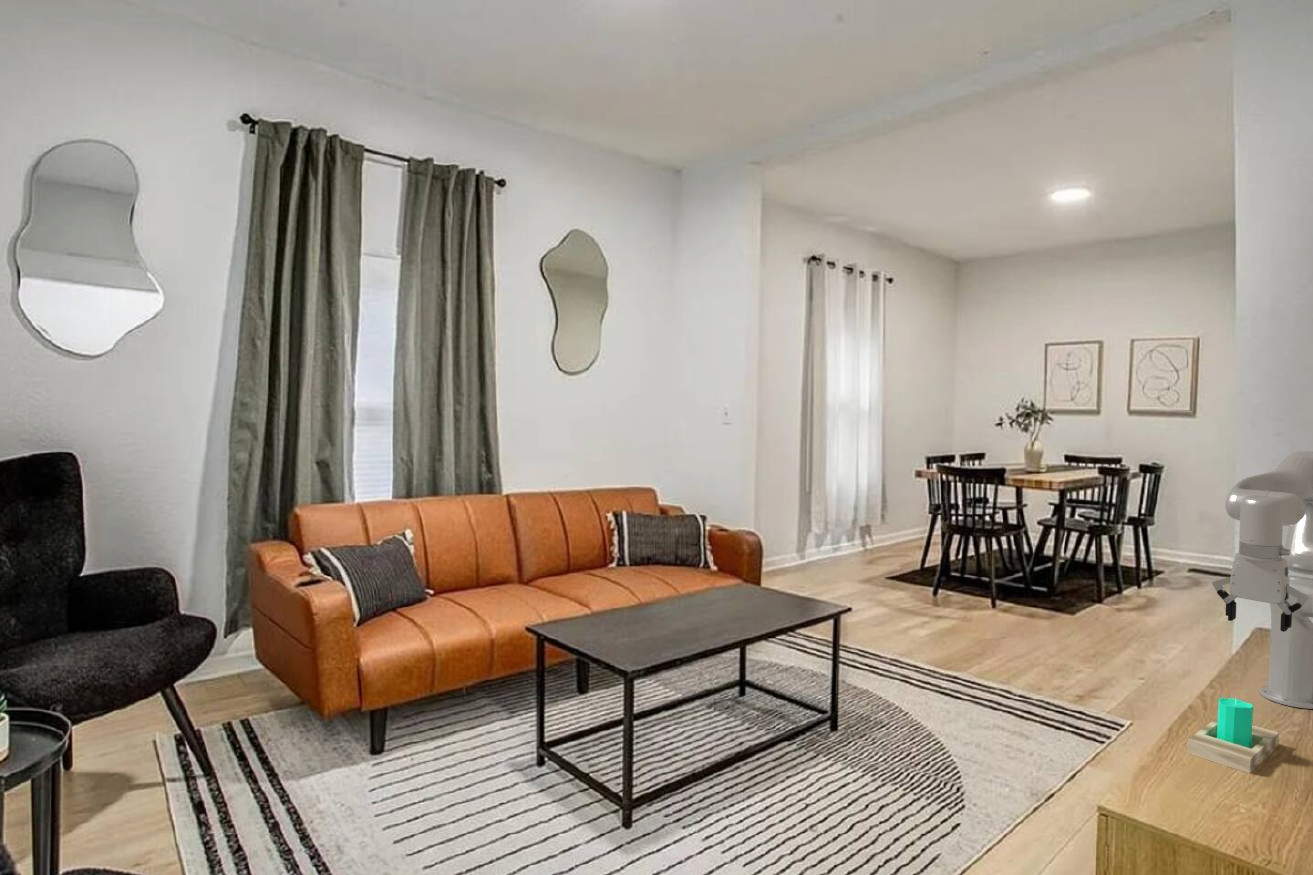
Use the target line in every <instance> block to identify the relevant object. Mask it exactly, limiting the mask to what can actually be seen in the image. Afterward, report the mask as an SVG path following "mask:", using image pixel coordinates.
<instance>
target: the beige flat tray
mask: <svg viewBox="0 0 1313 875" xmlns="http://www.w3.org/2000/svg"><path fill="white" fill-rule="evenodd" d="M1217 724H1218V716H1217V717H1216V718H1214V719H1213V720H1212V721H1211V722H1209V723H1208V724H1207V725H1205V726H1203V727H1202V728H1201V729H1199V730H1198V731H1197V732H1195V733H1194V734H1193V735H1192V736H1191V737H1189V738H1188V739H1187V747H1186V753H1187V754H1189V755H1193V756H1195V757H1198V758H1201V759H1205V760H1208V761H1210V762H1214V763H1216V764H1219V765H1223V766H1225V767H1229V768H1231V769H1235V770H1238V771H1241V772H1244V773H1247V774H1252V772H1253V771H1254V770H1255V769H1256V768H1257V767H1259V765H1260V764H1261V763H1262V762H1263V761H1265V760H1266V759H1267V758H1268V757H1269V755H1271V754H1272V753H1273V752H1274V751H1275V750H1276V749H1277V748H1278V747H1279V743H1280V742H1279V741H1280V740H1279V739H1280V732H1277V731H1275V730H1270V729H1268V728H1267V729H1266V728H1263V727H1260V726H1256V725H1253V724H1252V742H1251V749H1250V748H1247V747H1244V746H1240V745H1237V744H1234V743H1230V742H1227V741H1224V740H1221V739H1217Z"/></svg>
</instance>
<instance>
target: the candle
mask: <svg viewBox="0 0 1313 875" xmlns="http://www.w3.org/2000/svg"><path fill="white" fill-rule="evenodd" d="M1217 706H1218V708H1217V717H1218V724H1217V737H1216V738H1217V739H1221V740H1224V741H1227V742H1230V743H1234V744H1237V745H1240V746H1244V747H1247V748H1250V749H1252V748H1251V742H1252V725H1253V719H1254V717H1253V716H1254V705H1253V704H1252V703H1249V702H1245V701H1243V700H1241V699H1239V698H1237V695H1235V698H1229V697H1228V698H1226V697H1220V698H1219V699H1218V704H1217Z"/></svg>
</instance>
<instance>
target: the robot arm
mask: <svg viewBox="0 0 1313 875" xmlns="http://www.w3.org/2000/svg"><path fill="white" fill-rule="evenodd" d="M1224 503H1225V511H1226V513H1227V515H1228V516H1229V517H1230V518H1231V519H1233V520H1237V521H1239V538H1238V539H1239V543H1238V544H1239V545H1238V546H1239V547H1238V552H1236V553H1235V555H1234V559H1233V561H1232V566H1231V573H1230V576H1229V577H1225V578H1220V579H1217V580H1216V579H1215V580H1214V581H1212V582H1211V583H1212V586H1213V588H1214V590H1215V591H1216V593H1217V596H1219V597H1220V598H1221V599H1222V600H1223V602H1224V604H1225V616H1226V617H1227V620H1228V622H1232V621H1234V620H1236V618H1237V602H1236V601H1235V600H1236V599H1237V598H1239V599H1244V600H1249V601H1255V602H1261V603H1267V604H1269V607H1270V619H1271V620H1270V622H1271V623H1270V643H1269V644H1270V645H1269V646H1270V647H1269V664H1268V665H1269V666H1268V667H1269V668H1268V680H1267V683H1268V684H1267V685H1265V686H1262V687H1261V688H1260V689H1259V693H1260V695H1261V696H1262V697H1264V698H1265V699H1267V700H1269V701H1272V702H1275V703H1278V704H1281V705H1285V706H1288V707H1292V708H1299V709H1307V710H1309V709H1310V710H1313V622H1312V620H1311V619H1312V618H1313V578H1312V577H1307V576H1313V451H1297V452H1293V453H1291V454H1289V455H1288V456H1286V457H1285V458H1284V459H1283V460H1282V461H1281V462H1280V464H1279V465H1278V466H1277V467H1276V469H1275V470H1273V471H1268V472H1264V473H1260V474H1256V475H1252V476H1248V477H1246V478H1243V479H1241V480H1239V481H1238V482H1236V483H1235V485H1234V486H1233V487H1232V488H1231V489H1230V491H1229V492H1228V494H1227V496H1226V499H1225V502H1224ZM1287 526H1288V529H1287V530H1288V531H1287V534H1286V540H1285V544H1284V545H1283V531H1284V530H1283V528H1284V527H1287ZM1290 571H1291V572H1292V573H1297V574H1302V575H1307V576H1305V577H1304V576H1298V575H1290V574H1289V572H1290ZM1223 585H1229V593H1228V592H1227V591H1226V590H1225V589H1224V587H1223ZM1310 618H1311V619H1310Z"/></svg>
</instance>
